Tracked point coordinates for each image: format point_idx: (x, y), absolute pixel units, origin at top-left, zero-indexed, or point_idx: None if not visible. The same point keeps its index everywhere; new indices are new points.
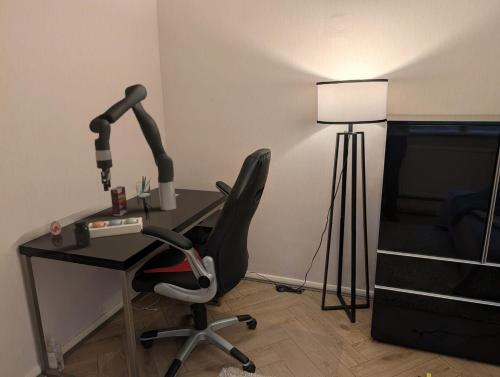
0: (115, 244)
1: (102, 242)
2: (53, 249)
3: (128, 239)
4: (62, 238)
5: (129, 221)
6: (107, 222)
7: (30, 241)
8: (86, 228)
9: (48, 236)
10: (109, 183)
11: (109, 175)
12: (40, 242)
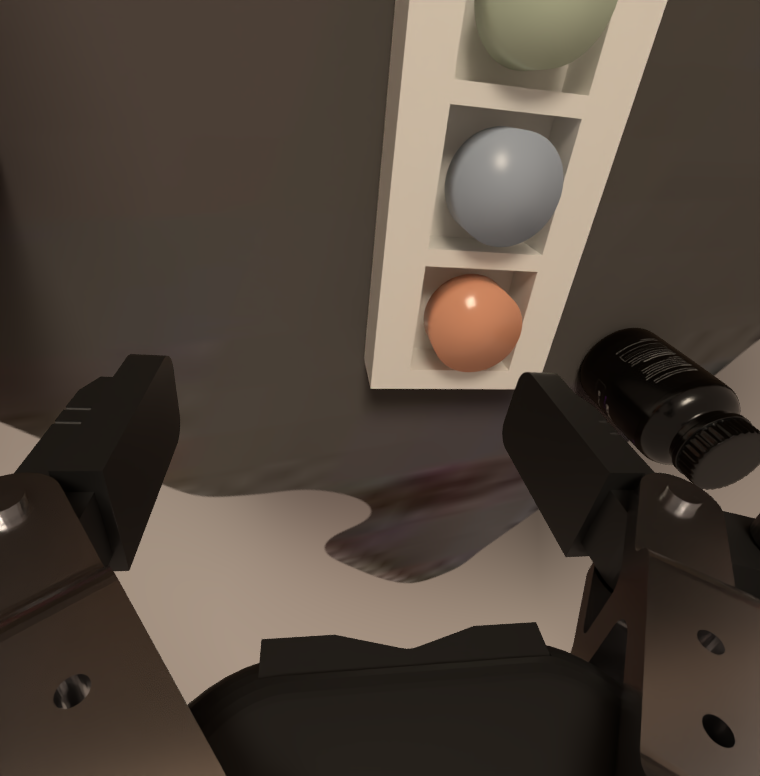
0: (751, 175)
1: (648, 264)
2: None
3: (738, 65)
4: (434, 474)
5: (609, 16)
6: (425, 258)
7: (402, 572)
8: (735, 395)
9: (366, 532)
10: (138, 433)
11: (179, 709)
12: (438, 539)
